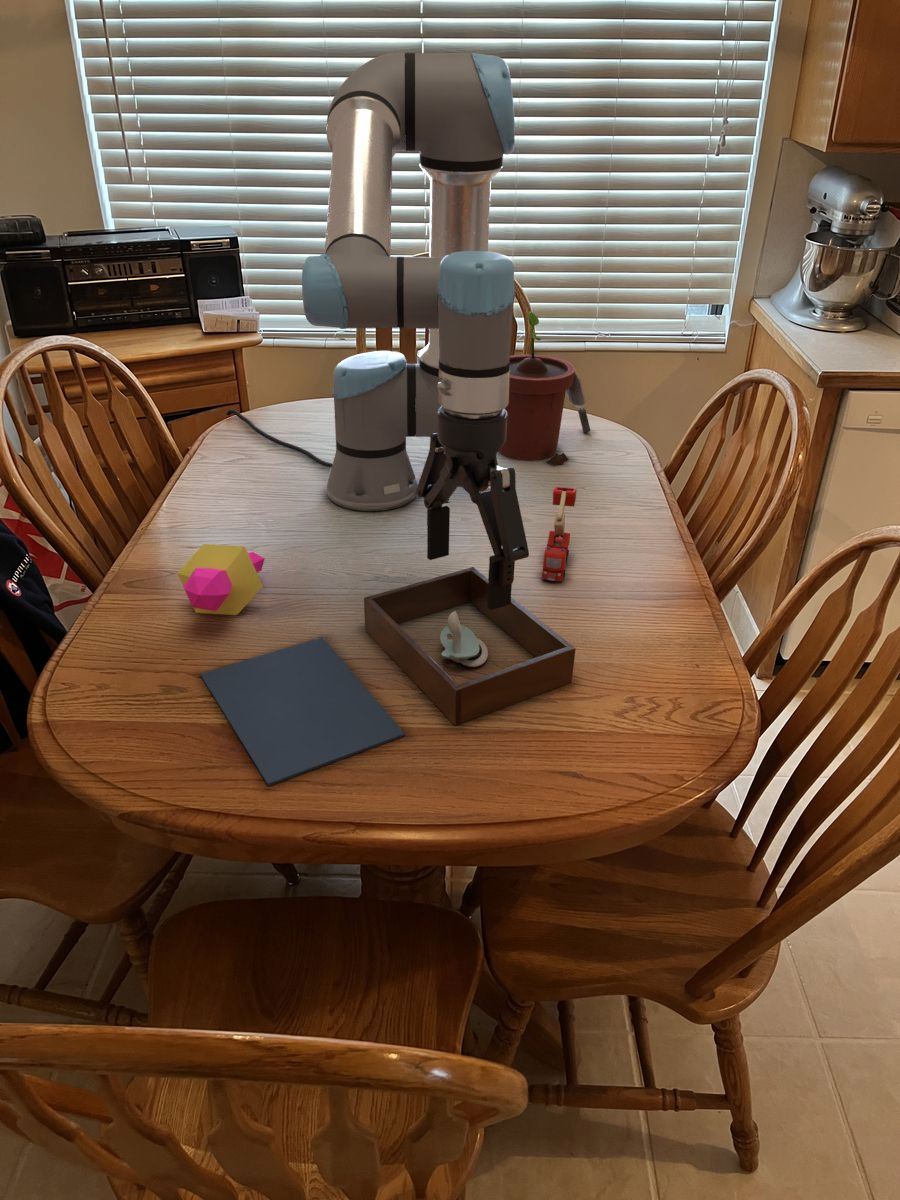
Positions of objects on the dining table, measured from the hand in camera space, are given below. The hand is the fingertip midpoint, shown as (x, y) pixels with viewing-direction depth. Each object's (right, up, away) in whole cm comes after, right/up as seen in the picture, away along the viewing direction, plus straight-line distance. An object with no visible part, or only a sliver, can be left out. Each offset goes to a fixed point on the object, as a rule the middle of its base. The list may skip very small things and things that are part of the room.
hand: (467, 580), depth 107 cm
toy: (-33, -3, +15) cm, 36 cm away
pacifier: (0, -9, +6) cm, 11 cm away
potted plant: (+16, +27, +66) cm, 73 cm away
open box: (0, -9, +6) cm, 11 cm away
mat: (-20, -14, -3) cm, 24 cm away
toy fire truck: (+14, +3, +28) cm, 31 cm away
